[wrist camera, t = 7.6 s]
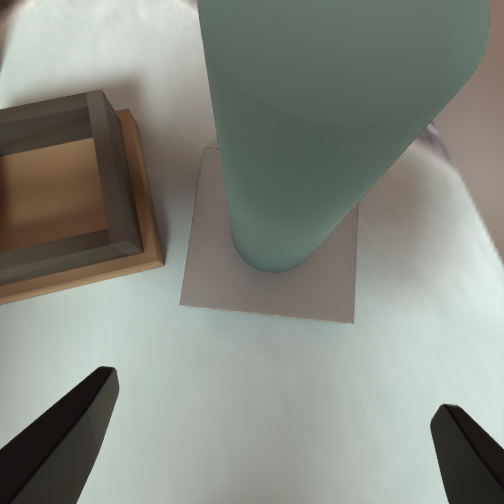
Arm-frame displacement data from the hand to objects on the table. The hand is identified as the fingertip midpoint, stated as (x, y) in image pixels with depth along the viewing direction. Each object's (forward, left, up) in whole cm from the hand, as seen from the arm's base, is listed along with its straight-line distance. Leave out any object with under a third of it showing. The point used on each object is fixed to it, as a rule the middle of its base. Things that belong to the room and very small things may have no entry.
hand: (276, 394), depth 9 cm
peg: (+7, +1, -7) cm, 10 cm away
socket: (+6, +13, -9) cm, 17 cm away
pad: (+7, +1, -9) cm, 11 cm away
